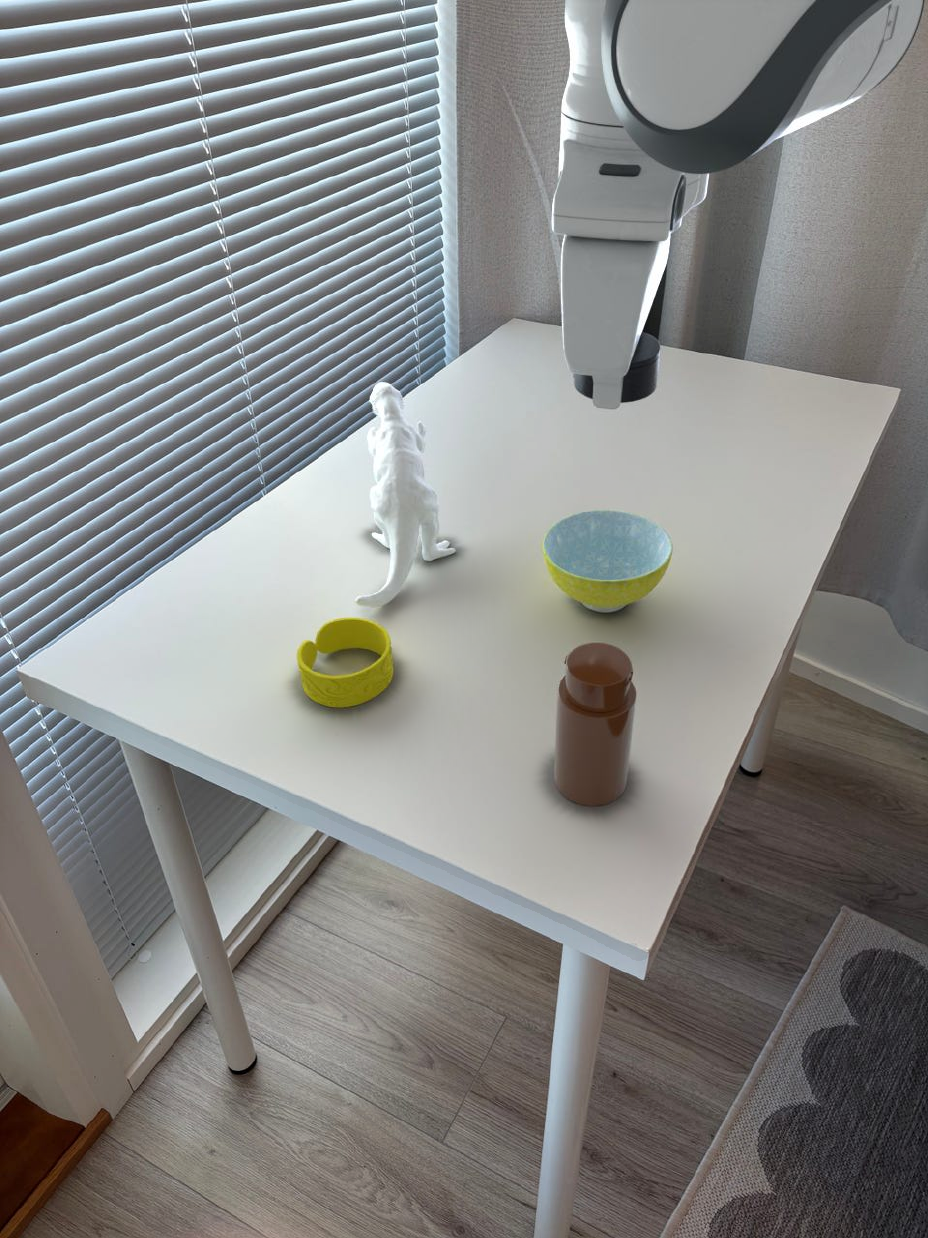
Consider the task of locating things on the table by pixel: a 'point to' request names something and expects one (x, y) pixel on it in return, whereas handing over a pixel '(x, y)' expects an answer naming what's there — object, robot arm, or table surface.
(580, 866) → the table surface
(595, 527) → the bowl
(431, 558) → the dinosaur figurine
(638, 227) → the robot arm
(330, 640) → the bracelet
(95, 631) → the table surface
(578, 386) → the lid
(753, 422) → the table surface
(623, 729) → the jar
